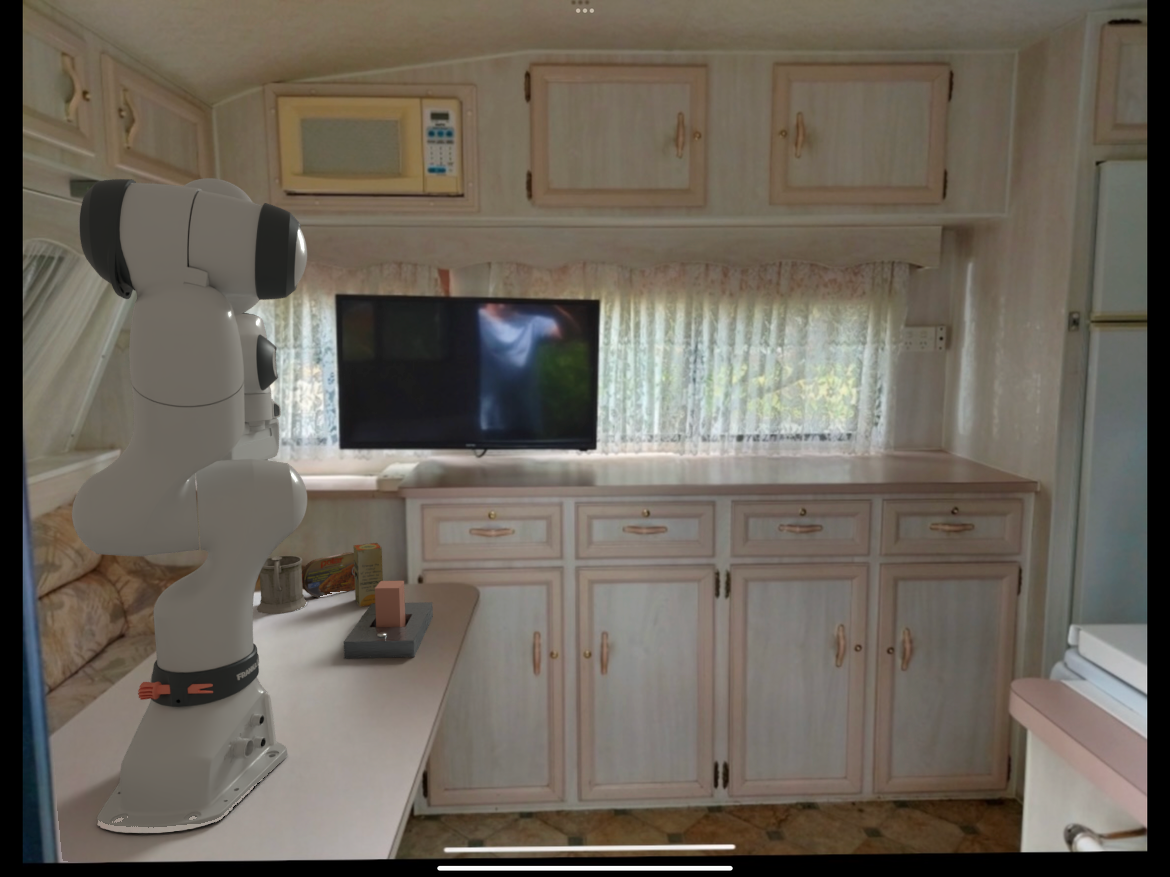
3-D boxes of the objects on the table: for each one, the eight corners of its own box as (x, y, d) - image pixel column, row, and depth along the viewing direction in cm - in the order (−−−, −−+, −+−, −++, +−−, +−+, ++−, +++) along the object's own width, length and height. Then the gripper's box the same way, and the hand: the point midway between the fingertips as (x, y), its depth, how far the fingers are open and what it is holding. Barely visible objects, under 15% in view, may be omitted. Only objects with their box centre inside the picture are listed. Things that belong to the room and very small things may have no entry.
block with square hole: (414, 657, 129) (413, 638, 129) (344, 658, 129) (343, 640, 128) (432, 616, 149) (432, 600, 149) (372, 617, 149) (371, 601, 148)
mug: (259, 600, 159) (256, 546, 158) (308, 596, 162) (306, 542, 161) (251, 624, 145) (248, 564, 144) (304, 618, 148) (302, 560, 147)
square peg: (400, 640, 137) (399, 588, 136) (376, 641, 136) (374, 588, 135) (405, 631, 141) (404, 580, 140) (382, 632, 141) (380, 581, 140)
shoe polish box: (378, 596, 162) (377, 542, 160) (383, 603, 157) (381, 548, 156) (355, 600, 159) (353, 545, 158) (359, 606, 155) (357, 550, 154)
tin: (305, 601, 159) (303, 563, 158) (299, 598, 161) (297, 560, 160) (370, 586, 169) (369, 550, 168) (364, 583, 171) (363, 547, 170)
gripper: (237, 415, 116) (241, 502, 118) (284, 406, 136) (287, 480, 138) (195, 415, 116) (201, 502, 117) (249, 406, 136) (253, 480, 138)
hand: (248, 490), depth 128 cm, fingers open, 8 cm apart
